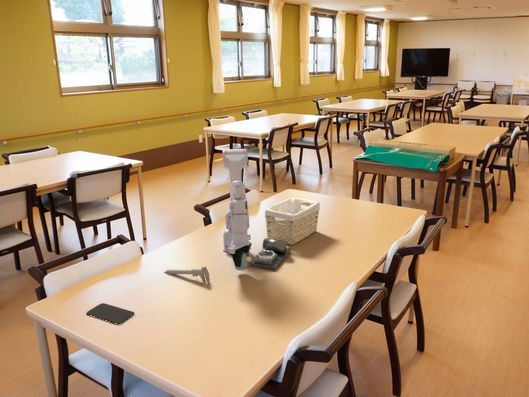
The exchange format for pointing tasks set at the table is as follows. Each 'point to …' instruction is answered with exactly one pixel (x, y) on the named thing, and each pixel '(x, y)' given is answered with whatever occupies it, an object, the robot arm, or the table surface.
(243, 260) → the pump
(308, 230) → the storage basket
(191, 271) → the caliper
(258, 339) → the table surface
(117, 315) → the phone
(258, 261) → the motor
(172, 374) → the table surface
